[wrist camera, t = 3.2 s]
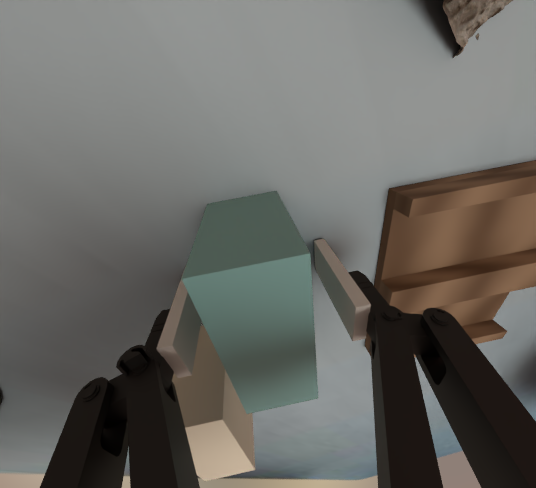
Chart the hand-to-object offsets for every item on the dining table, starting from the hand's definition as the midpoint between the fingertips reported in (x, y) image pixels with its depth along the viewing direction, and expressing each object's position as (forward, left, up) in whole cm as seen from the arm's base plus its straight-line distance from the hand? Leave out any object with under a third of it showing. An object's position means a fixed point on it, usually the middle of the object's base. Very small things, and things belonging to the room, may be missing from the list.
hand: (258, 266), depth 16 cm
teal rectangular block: (0, 0, 0) cm, 0 cm away
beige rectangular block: (-6, -11, 0) cm, 13 cm away
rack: (+17, -5, 0) cm, 18 cm away
